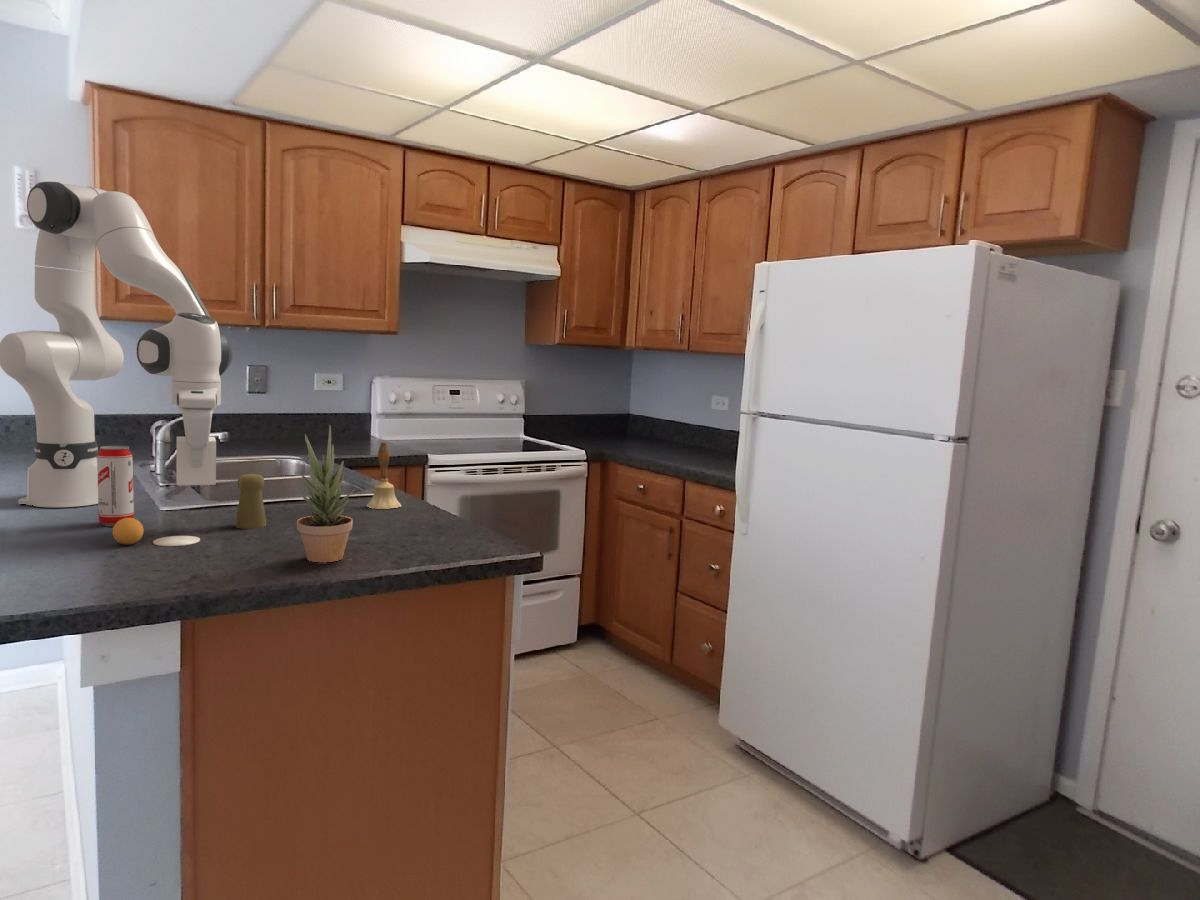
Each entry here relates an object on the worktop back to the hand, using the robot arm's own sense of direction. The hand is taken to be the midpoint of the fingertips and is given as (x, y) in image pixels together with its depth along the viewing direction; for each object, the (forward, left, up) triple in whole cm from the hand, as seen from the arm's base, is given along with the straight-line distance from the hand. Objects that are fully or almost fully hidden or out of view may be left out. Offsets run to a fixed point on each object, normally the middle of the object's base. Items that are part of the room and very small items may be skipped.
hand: (196, 464), depth 163 cm
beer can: (-11, -15, -14) cm, 23 cm away
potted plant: (+31, +20, -14) cm, 40 cm away
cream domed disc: (+9, -4, -14) cm, 17 cm away
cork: (-2, +10, -14) cm, 17 cm away
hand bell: (-16, +41, -14) cm, 46 cm away
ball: (+9, -12, -11) cm, 19 cm away
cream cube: (0, 0, -4) cm, 4 cm away
